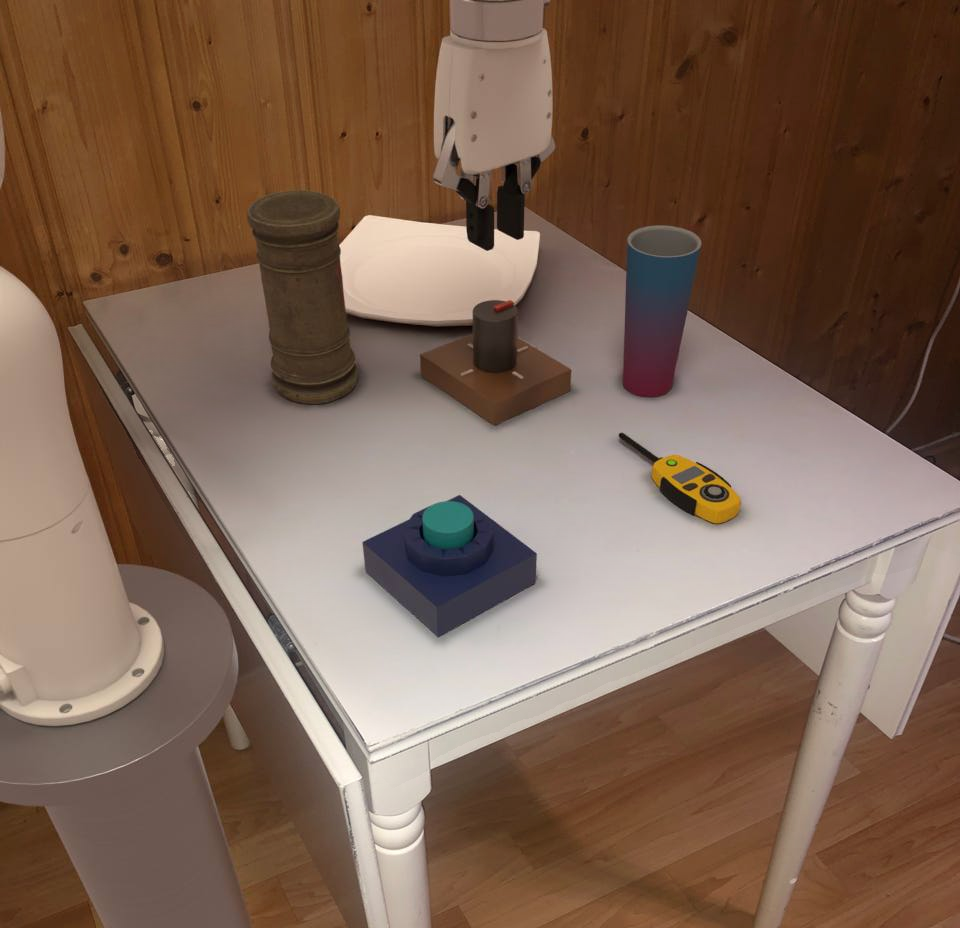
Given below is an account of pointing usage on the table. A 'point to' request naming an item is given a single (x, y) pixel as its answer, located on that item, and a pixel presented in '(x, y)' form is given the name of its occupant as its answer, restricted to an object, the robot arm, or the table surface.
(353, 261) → the plate
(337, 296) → the container
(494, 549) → the teal button cap base
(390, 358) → the table surface
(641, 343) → the cup
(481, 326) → the dial
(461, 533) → the teal button cap
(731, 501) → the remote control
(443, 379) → the console
